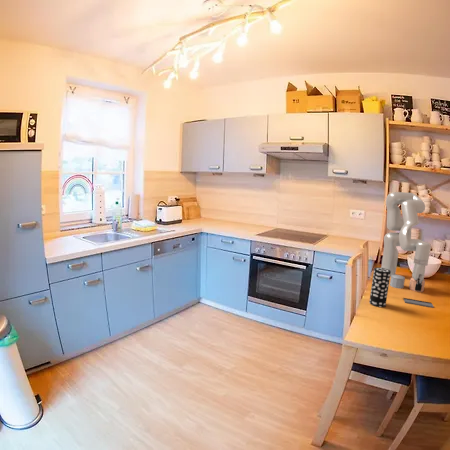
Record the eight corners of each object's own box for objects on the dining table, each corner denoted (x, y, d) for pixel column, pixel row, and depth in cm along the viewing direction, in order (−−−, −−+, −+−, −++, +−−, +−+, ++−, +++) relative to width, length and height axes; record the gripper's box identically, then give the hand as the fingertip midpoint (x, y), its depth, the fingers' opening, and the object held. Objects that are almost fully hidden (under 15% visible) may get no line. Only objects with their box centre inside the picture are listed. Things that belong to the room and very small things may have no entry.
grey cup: (390, 289, 205) (392, 277, 204) (389, 285, 212) (390, 273, 211) (403, 291, 202) (405, 279, 201) (402, 287, 209) (404, 275, 208)
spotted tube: (382, 301, 184) (387, 268, 181) (388, 307, 176) (393, 272, 173) (367, 300, 185) (371, 266, 182) (372, 306, 177) (377, 271, 174)
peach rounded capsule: (409, 292, 201) (411, 280, 200) (408, 288, 208) (409, 276, 207) (423, 294, 198) (426, 282, 197) (421, 290, 205) (423, 278, 204)
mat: (405, 302, 185) (405, 301, 184) (401, 293, 199) (401, 292, 199) (433, 307, 180) (433, 306, 179) (427, 297, 194) (427, 296, 194)
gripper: (411, 257, 209) (407, 282, 212) (416, 264, 193) (411, 291, 196) (425, 259, 206) (420, 284, 209) (430, 266, 191) (426, 293, 194)
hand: (416, 288), depth 203 cm, fingers open, 9 cm apart
